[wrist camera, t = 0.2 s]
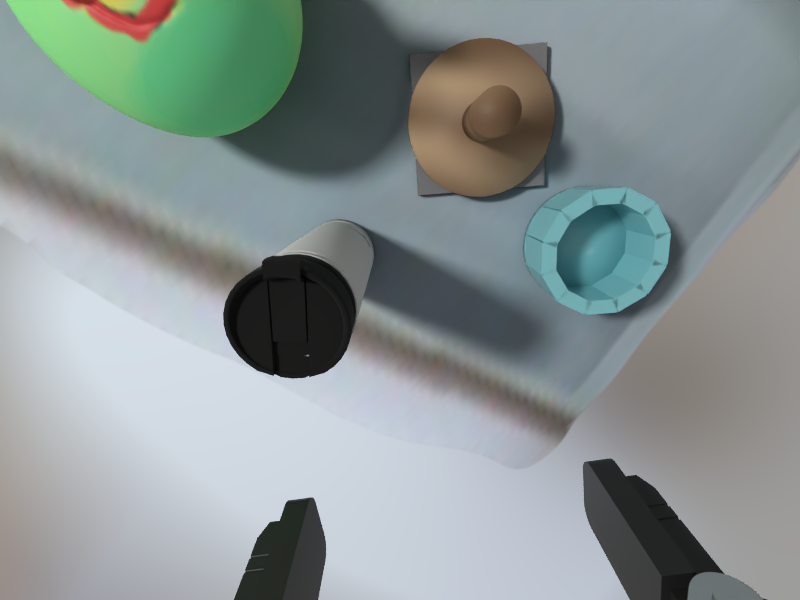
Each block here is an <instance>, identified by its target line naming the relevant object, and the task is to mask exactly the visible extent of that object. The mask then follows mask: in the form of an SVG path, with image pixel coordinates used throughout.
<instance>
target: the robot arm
mask: <svg viewBox="0 0 800 600" xmlns="http://www.w3.org/2000/svg"><path fill="white" fill-rule="evenodd" d="M583 479H584V505H585V511H586V515H587V518H588V521H589V524H590V526H591V528H592V530H593V532H594V534H595V536H596V537H597V539H598V541H599V543H600V545H601V547H602V548H603V550H604V552H605V554H606V556H607V558H608V560H609V561H610V563H611V565H612V567H613V569H614V571H615V573H616V574H617V576H618V578H619V580H620V582H621V584H622V586H623V587H624V589H625V591H626V593H627V595H628V597H629V598H630V600H766V599H763V598H762V597H761V596H760V595H759V594H757V592H756V591H754V590H753V589H752V588H751V587H749V586H748V585H746V584H745V583H743V582H742V581H740V580H738V579H736V578H733V577H731V576H729V575H725V574H724V573H723V572H722V571H721V570H720V568H719V567H718V566H717V565H716V563H715V562H714V561H713V560H712V558H711V557H710V556H709V554H708V553H707V552H706V551H705V550H704V548H703V547H702V546H701V545H700V543H699V542H698V541H697V540H696V538H695V537H694V536H693V535H692V534H691V532H690V531H689V530H688V528H687V527H686V526H685V525H684V524H683V522H682V521H681V520H679V519H678V516H677V515H676V514H675V512H674V511H673V510H672V509H671V507H668V505H667V503H666V501H665V500H664V499H663V497H662V496H661V495H660V494H659V492H658V491H657V490H656V489H655V488H654V487H653V486H651V485H650V484H648V483H647V482H646V481H644V480H643V479H641V478H640V477H638V476H637V475H633V476H625V475H624V474H623V472H622V471H621V469H620V468H619V467H618V465H617V464H616V463H615V461H613V460H612V459H603V460H596V461H588V462H584V465H583ZM325 558H326V542H325V536H324V532H323V528H322V525H321V521H320V517H319V514H318V510H317V506H316V503H315V500H314V498H305V499H298V500H289V501H287V502H286V504H285V507H284V510H283V513H282V516H281V519H280V521H275V522H270V523H269V524H268V525H267V527H266V528H265V529H264V531H263V532H262V533H261V534H260V536H259V537H258V538H257V541H256V543H255V546H254V549H253V551H252V554H251V559H249V562H248V564H247V567H246V569H245V570H246V572H245V573H244V575H243V578H242V580H241V583H240V585H239V588H238V590H237V593H236V596H235V598H234V600H318V597H319V591H320V586H321V580H322V575H323V570H324V565H325Z"/></svg>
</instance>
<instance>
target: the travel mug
mask: <svg viewBox="0 0 800 600" xmlns="http://www.w3.org/2000/svg"><path fill="white" fill-rule="evenodd" d="M373 261H374V247H373V244H372V241H371V239H370V237H369V235H368V234H367V233H366V232H365V230H364V229H362V228H361V227H360V226H359V225H357V224H355V223H353V222H351V221H348V220H341V219H338V220H331V221H327V222H325V223H323V224H321V225H320V226H318V227H317V228H315V229H314V230H312V231H311V232H309V233H308V234H306V235H305V236H303V237H301V238H300V239H298V240H297V241H295V242H294V243H292V244H291V245H289V246H288V247H286V248H285V249H283V250H282V251H280V252H279V253H277V254H276V255H274V256H271V257H268V258H266V259H264V260H263V261H262V265H260V266H259V267H258V268H257V269H255V270H254V271H252V272H251V273H249V274H248V275H246V276H245V277H244V278H243V279H241V280H240V281H239V282H238V283H237V284H236V285H235V286H234V288H233V289H232V290H231V292H230V293H229V296H228V298H227V300H226V302H225V307H224V313H223V317H224V327H225V331H226V335H227V337H228V339H229V341H230V344H231V346H232V347H233V348H234V350H235V351H236V352H237V354H238V355H239V356H240V357H241V358H242V359H243V360H244V361H245V362H246V363H247V364H249V365H250V366H251V367H253V368H254V369H256V370H257V371H260V372H263V373H267V374H270V375H273V376H274V374H276V375H278V376H280V377H285V378H305V377H307V376H309V377H311V376H315V375H318V374H322V373H325V372H326V371H328V370H329V369H331V368H332V367H334V366H335V365H336V364H337V363H338V362H339V360H340V359H341V358H342V357H343V355H344V353H345V352H346V350H347V347H348V344H349V341H350V338H351V334H352V332H353V330H354V327H355V324H356V321H357V317H358V314H359V310H360V307H361V303H362V300H363V296H364V293H365V289H366V286H367V282H368V279H369V275H370V272H371V268H372V265H373Z"/></svg>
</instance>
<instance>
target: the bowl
mask: <svg viewBox="0 0 800 600" xmlns="http://www.w3.org/2000/svg"><path fill="white" fill-rule="evenodd" d="M670 231H671V230H670V228H669V226H668V224H667V222H666V220H665V218H664V216H663V214H662V212H661V210H660V208H659V206H658V204H657V203H656V202H655V201H653V200H651V199H649V198H647V197H645V196H643V195H641V194H640V193H638V192H636V191H634V190H632V189H630V188H628V187H616V186H581V187H574V188H570V189H567V190H564V191H562V192H560V193H558V194H556V195H554V196H553V197H551V198H550V199H548V200H547V201H546V202H545V203H544V204H543V205H542V206H541V207H540V208H539V209H538V210H537V211H536V213H535V214H534V216H533V217H532V219H531V220H530V223H529V225H528V227H527V230H526V233H525V237H524V245H523V252H524V259H525V263H526V266H527V268H528V270H529V272H530V274H531V276H532V277H533V278H534V280H535V281H536V282H537V283H538V285H539V287H540V288H541V289H543V290H544V291H545V292H546V293H548V294H549V295H550V296H551V297H553V298H554V299H555V300H556V301H557V302H559V303H561V304H563V305H565V306H568V307H570V308H572V309H574V310H576V311H578V312H580V313H582V314H585V315H590V314H604V313H617V311H618V312H619V311H621V310H623V309H624V308H626V307H628V306H630V305H631V304H633V303H635V302H636V301H638V300H640V299H641V298H643V297H645V296H646V295H647V294H649V292H650V291H651V289H652V288H653V286H654V285H655V283H656V282H657V280H658V279H659V277H660V276H661V274H662V273H663V271H664V270H665V268H666V267H667V266H665V265H668V256H669V247H670V238H671V233H670ZM646 293H647V294H646Z"/></svg>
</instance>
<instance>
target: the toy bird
mask: <svg viewBox="0 0 800 600" xmlns="http://www.w3.org/2000/svg"><path fill="white" fill-rule="evenodd" d="M6 1H7V2H8V4H9V6H10V8H11V9H12V11H13V12H14V14H15V15H16V17H17V18H18V20H19V21H20V23H21V24H22V26H23V27H24V28H25V30H26V31H27V32H28V34H29V35H30V36H31V37H32V39H33V40H34V41H35V42H36V43H37V45H38V46H39V47H40V48H41V49H42V50H43V51H44V52H45V53H46V55H47V56H48V57H49V58H50V59H51V60H52V61H53V62H54V63H55V64H56V65H57V66H58V67H59V68H61V69H62V70H63V71H64V72H65V73H66V74H67V75H68V76H69V77H71V78H72V79H73V80H74V81H75V82H77V83H78V84H79V85H80V86H82V87H83V88H84V89H86V90H87V91H88V92H90V93H91V94H92V95H94V96H95V97H97V98H98V99H100V100H101V101H103V102H104V103H106V104H108V105H109V106H111V107H112V108H114V109H116V110H118V111H119V112H121V113H123V114H125V115H127V116H129V117H131V118H133V119H135V120H137V121H139V122H142V123H144V124H146V125H149V126H151V127H154V128H157V129H160V130H163V131H166V132H170V133H174V134H179V135H184V136H191V137H216V136H223V135H227V134H231V133H234V132H237V131H240V130H242V129H244V128H246V127H248V126H250V125H252V124H253V123H255V122H257V121H258V120H259V119H261V118H262V117H263V116H264V115H266V114H267V113H268V112H269V111H270V110H271V109H272V108H273V107H274V106H275V105H276V103H277V102H278V101H279V100H280V98H281V97H282V95H283V94H284V92H285V91H286V89H287V87H288V85H289V84H290V81H291V79H292V77H293V75H294V72H295V69H296V66H297V63H298V59H299V55H300V50H301V44H302V34H303V16H302V5H301V0H6Z"/></svg>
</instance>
